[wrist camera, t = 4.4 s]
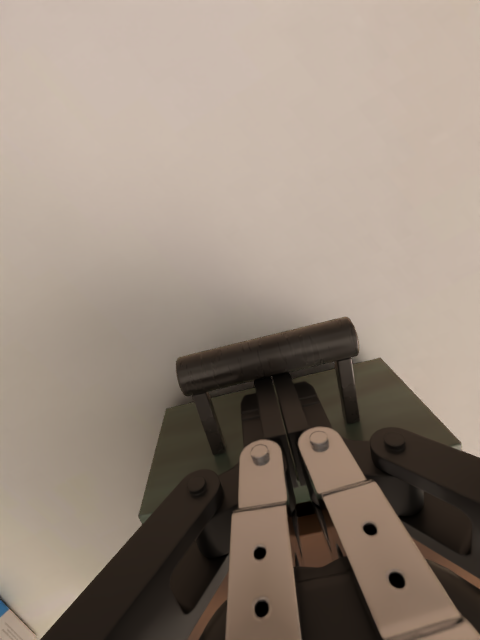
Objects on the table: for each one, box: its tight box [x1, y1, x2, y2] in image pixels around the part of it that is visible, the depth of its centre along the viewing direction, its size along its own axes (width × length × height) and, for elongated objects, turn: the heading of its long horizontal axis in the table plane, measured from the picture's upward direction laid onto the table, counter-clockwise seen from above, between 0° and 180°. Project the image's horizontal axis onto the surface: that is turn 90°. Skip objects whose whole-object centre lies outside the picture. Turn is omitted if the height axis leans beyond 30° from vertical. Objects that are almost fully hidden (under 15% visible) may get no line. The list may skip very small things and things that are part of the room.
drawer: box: [139, 317, 462, 524], centre depth 17 cm, size 17×12×7 cm
